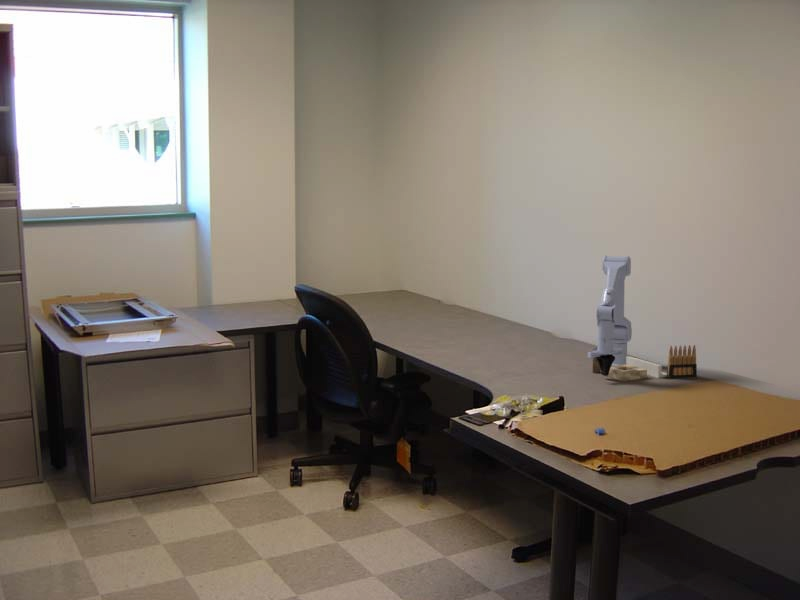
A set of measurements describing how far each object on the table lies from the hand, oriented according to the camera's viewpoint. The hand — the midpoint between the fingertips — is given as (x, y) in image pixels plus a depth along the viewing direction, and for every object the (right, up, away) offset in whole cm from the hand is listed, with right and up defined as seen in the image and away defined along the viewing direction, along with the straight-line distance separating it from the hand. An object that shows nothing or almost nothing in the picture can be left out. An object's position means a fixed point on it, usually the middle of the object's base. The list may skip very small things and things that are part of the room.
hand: (605, 375), depth 312 cm
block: (+8, -1, +4) cm, 9 cm away
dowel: (-1, 0, +11) cm, 11 cm away
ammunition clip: (+28, -1, +1) cm, 28 cm away
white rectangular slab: (+18, 0, +10) cm, 21 cm away
